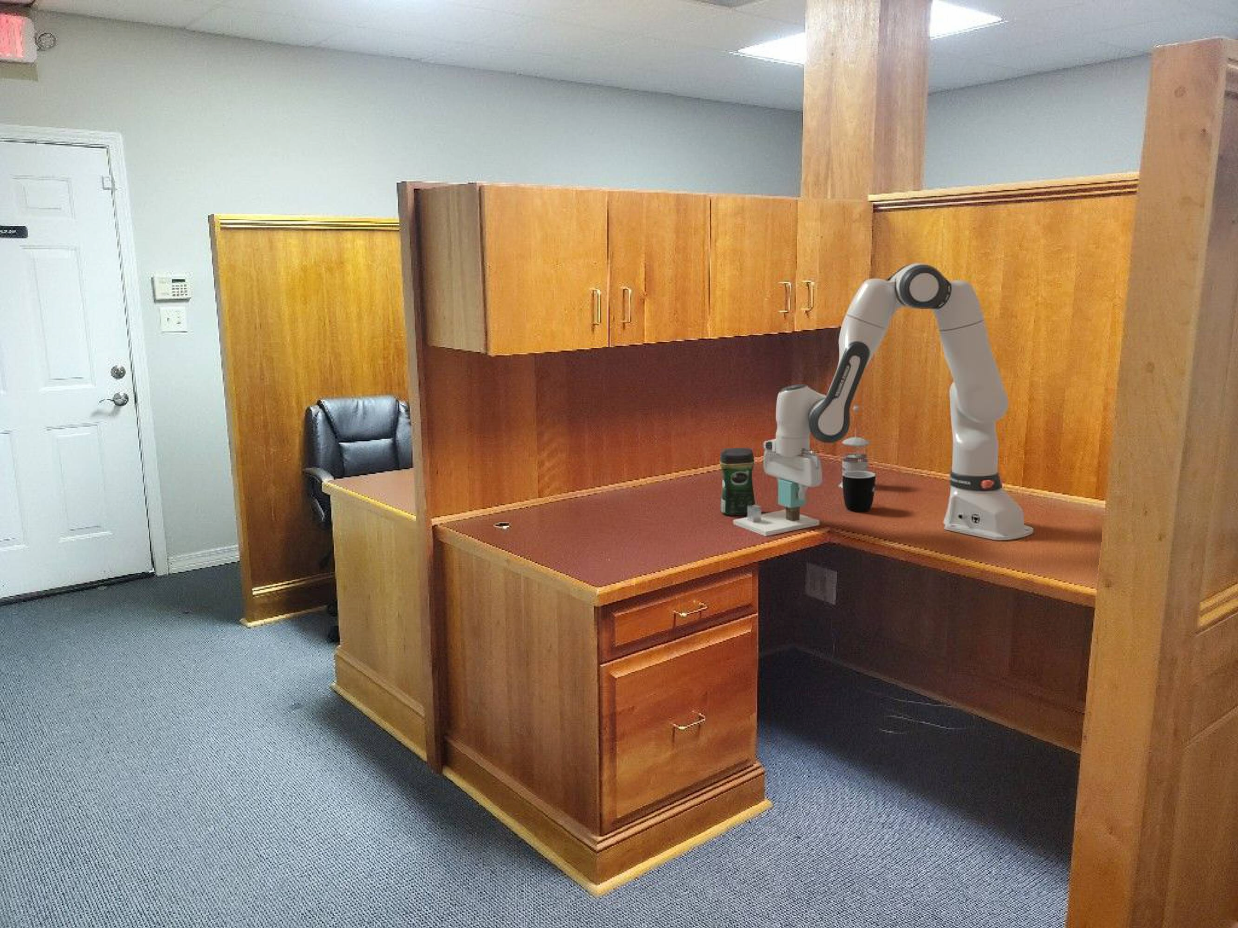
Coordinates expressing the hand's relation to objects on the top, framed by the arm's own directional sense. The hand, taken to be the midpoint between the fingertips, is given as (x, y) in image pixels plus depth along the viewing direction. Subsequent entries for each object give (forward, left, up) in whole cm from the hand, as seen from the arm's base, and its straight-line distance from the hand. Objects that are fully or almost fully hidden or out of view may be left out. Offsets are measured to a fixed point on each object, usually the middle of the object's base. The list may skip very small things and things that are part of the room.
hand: (792, 496), depth 260 cm
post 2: (0, 0, -6) cm, 6 cm away
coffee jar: (+18, +5, -8) cm, 20 cm away
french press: (+22, -43, -8) cm, 49 cm away
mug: (+2, -25, -8) cm, 26 cm away
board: (+2, +4, -8) cm, 9 cm away
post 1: (+5, +9, -6) cm, 12 cm away
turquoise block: (0, 0, -2) cm, 2 cm away
